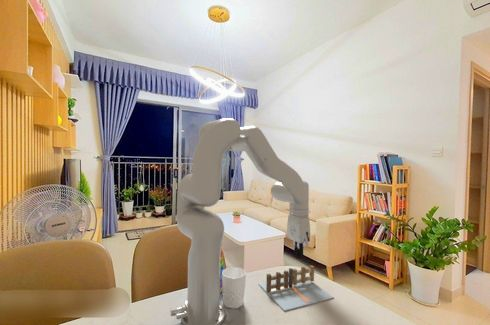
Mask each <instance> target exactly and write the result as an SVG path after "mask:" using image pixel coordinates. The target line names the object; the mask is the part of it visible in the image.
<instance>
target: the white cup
mask: <svg viewBox="0 0 490 325" xmlns="http://www.w3.org/2000/svg"><path fill="white" fill-rule="evenodd" d="M246 274H247V272H246V270H245V269H244V268H241V267H237V266H236V267H227V268H224V270H223V271H222V292H221V293H222V304H223V305H224V306H225V307H226V308H228V309H238V308H240V307H242V306H243V305H244V300H245V299H244V297H245V292H246V290H245V289H246Z"/></svg>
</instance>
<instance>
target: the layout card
mask: <svg viewBox="0 0 490 325" xmlns="http://www.w3.org/2000/svg"><path fill="white" fill-rule="evenodd" d="M299 278H301V275H297V279H299ZM288 281H289V277H288ZM281 282H284V278H281ZM275 283H276V280H271V284H275ZM266 284H267V281H264V282H259V283H258V286H260V288H261V289H262V290H263V291H264V292H265V293H266V294H267V296H269V297H270V298H271V299H272V300H273V302H274V303H275V304H277V305H278V306H279V308H280V309H281V310H282V311H283V312H285V313H286V312H289V311H292V310H295V309H299V308H304V307H307V306H311V305H315V304H318V303H323V302H325V301H329V300H333V299H335V297H334V296H333V295H331V294H330V293H328V291H326V290H324V289H323V288H321V287H320V286H319V285H317V284H316V283H315V282H314V281H305V283H302V282H301V283H297V285H293V284H292V287H289V285H288V288H286V289H285V288H284V286H282V287H280V290H277V289H276V288H273V289H271V292H269V293H268V292H267V291H266Z"/></svg>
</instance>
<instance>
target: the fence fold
mask: <svg viewBox="0 0 490 325" xmlns="http://www.w3.org/2000/svg"><path fill="white" fill-rule="evenodd" d="M292 269H293V281H292V284H293V285H297V283H301V282H302V283H305V281H312V282H314V281H315V266H313V265H309V268H306V267H304V266H302V267H300V270H297V269H296V268H292ZM306 274H309V276H306ZM298 275H301V278H299V279H297V276H298Z"/></svg>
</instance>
